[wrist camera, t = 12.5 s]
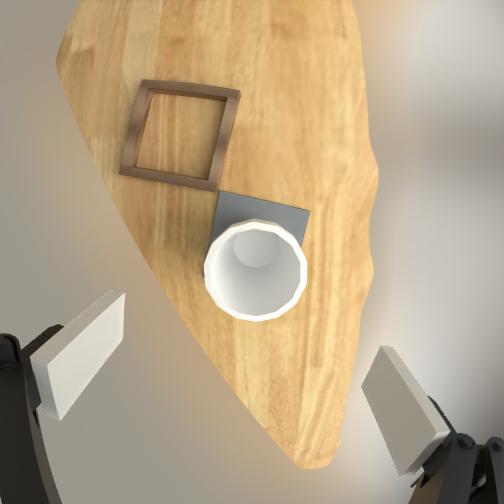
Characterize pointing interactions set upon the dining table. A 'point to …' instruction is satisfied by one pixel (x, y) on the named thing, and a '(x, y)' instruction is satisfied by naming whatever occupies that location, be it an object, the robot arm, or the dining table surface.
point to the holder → (140, 120)
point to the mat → (257, 215)
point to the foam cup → (255, 270)
